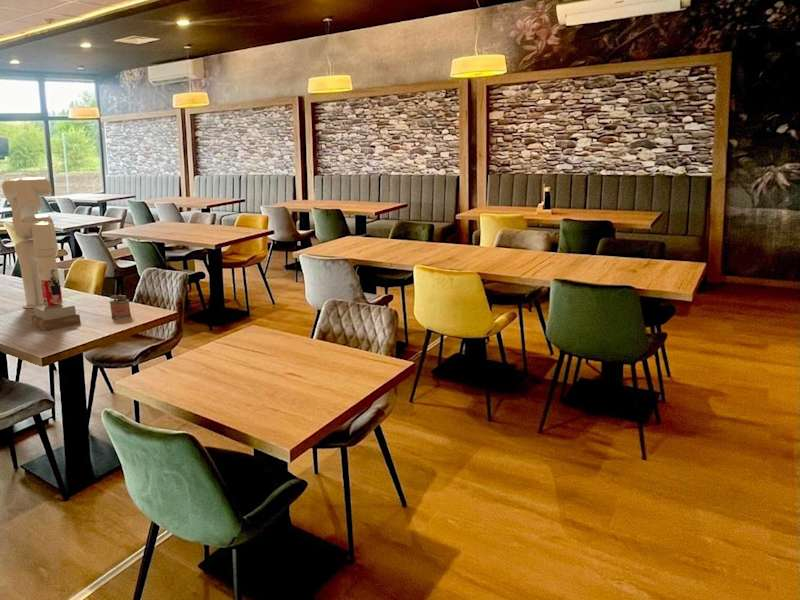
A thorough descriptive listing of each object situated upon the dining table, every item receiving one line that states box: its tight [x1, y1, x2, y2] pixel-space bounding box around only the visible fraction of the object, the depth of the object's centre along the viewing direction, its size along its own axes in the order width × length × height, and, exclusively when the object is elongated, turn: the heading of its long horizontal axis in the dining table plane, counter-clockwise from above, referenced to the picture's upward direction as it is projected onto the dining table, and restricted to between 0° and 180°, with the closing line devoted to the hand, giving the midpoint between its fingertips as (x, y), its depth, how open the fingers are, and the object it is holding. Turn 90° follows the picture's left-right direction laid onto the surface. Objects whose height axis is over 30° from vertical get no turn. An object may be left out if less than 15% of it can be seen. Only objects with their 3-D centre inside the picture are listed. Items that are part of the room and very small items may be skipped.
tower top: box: [32, 300, 76, 321], centre depth 270 cm, size 12×12×4 cm
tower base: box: [31, 313, 81, 332], centre depth 271 cm, size 14×14×4 cm
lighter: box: [109, 294, 132, 319], centre depth 280 cm, size 8×3×10 cm, turn 104°
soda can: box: [41, 280, 63, 308], centre depth 268 cm, size 7×7×12 cm
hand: (51, 293), depth 268 cm, fingers open, 9 cm apart
